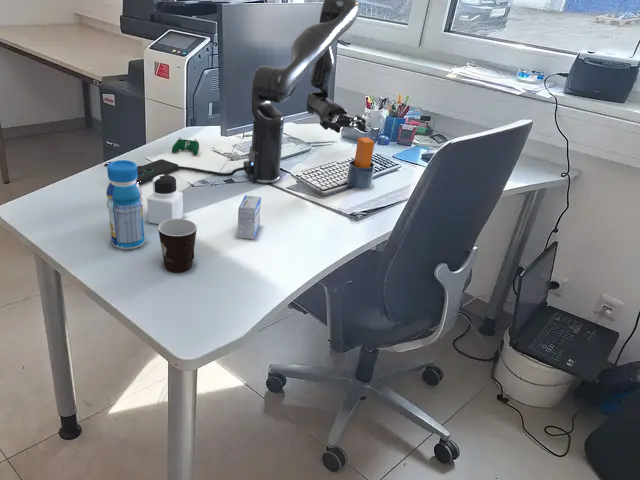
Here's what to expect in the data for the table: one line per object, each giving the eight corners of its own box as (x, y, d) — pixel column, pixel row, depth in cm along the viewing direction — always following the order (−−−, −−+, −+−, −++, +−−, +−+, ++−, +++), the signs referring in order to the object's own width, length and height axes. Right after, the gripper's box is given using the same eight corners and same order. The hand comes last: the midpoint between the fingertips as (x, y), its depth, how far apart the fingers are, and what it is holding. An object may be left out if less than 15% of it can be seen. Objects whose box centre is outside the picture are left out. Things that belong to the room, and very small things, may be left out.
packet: (357, 186, 172) (364, 142, 165) (351, 181, 176) (358, 137, 168) (366, 186, 173) (374, 142, 165) (360, 180, 177) (367, 137, 169)
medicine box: (254, 240, 141) (256, 208, 137) (237, 237, 142) (238, 206, 137) (259, 226, 148) (261, 196, 143) (243, 224, 148) (244, 194, 144)
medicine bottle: (183, 216, 151) (182, 174, 144) (172, 227, 145) (171, 184, 139) (159, 212, 153) (157, 170, 146) (147, 222, 147) (145, 179, 140)
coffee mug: (160, 256, 132) (158, 218, 127) (196, 256, 133) (196, 218, 128) (158, 282, 123) (156, 242, 117) (197, 282, 124) (197, 242, 118)
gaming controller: (198, 159, 194) (202, 143, 195) (196, 153, 190) (200, 137, 191) (173, 155, 195) (177, 140, 196) (170, 150, 191) (174, 135, 193)
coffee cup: (352, 190, 171) (356, 169, 167) (342, 181, 177) (345, 160, 173) (375, 189, 173) (379, 167, 169) (364, 179, 179) (368, 158, 175)
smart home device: (115, 174, 169) (160, 158, 183) (115, 180, 170) (161, 163, 184) (134, 182, 165) (179, 164, 179) (134, 187, 166) (179, 169, 180)
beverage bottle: (129, 254, 133) (123, 174, 122) (103, 244, 136) (95, 165, 125) (152, 240, 139) (148, 163, 128) (126, 231, 142) (120, 155, 131)
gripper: (313, 103, 184) (332, 118, 171) (352, 102, 188) (374, 116, 175) (311, 126, 188) (329, 142, 176) (349, 124, 192) (370, 139, 179)
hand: (351, 129), depth 175 cm, fingers open, 8 cm apart
